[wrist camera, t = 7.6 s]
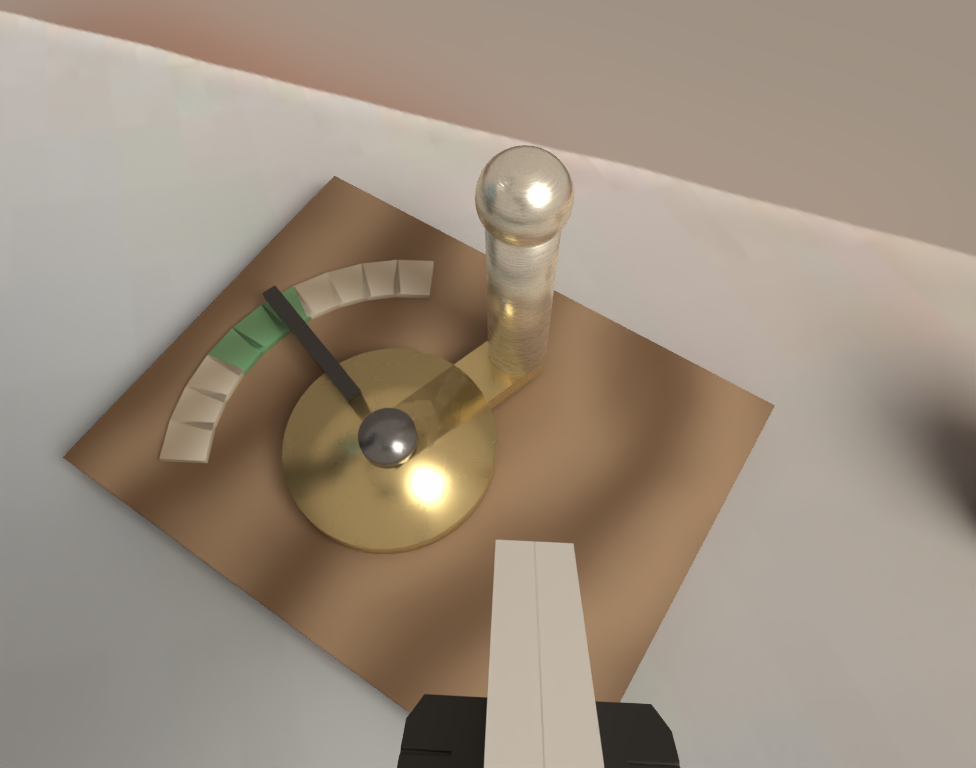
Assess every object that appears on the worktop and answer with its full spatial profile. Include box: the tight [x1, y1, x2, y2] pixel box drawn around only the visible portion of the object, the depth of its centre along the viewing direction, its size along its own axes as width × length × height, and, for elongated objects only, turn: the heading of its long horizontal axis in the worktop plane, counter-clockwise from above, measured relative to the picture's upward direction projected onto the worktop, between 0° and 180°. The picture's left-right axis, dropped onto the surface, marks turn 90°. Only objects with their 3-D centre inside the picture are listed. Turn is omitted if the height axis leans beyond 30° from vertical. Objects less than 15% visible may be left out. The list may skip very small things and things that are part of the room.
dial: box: [262, 145, 574, 554], centre depth 27 cm, size 13×13×13 cm
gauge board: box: [63, 176, 775, 713], centre depth 32 cm, size 25×19×2 cm
